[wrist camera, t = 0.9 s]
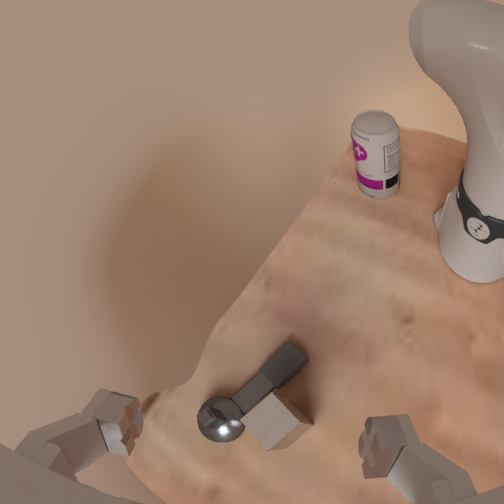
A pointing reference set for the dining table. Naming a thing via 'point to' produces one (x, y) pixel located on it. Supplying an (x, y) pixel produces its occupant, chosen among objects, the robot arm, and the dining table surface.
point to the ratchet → (248, 396)
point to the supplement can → (376, 153)
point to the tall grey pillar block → (276, 422)
